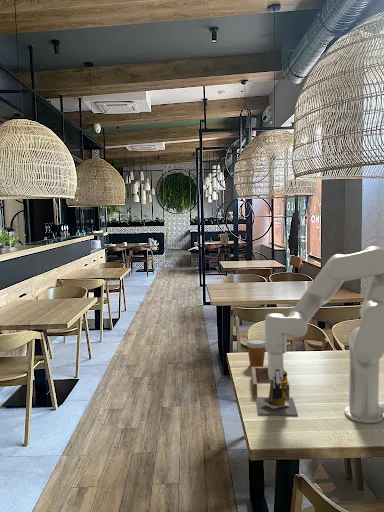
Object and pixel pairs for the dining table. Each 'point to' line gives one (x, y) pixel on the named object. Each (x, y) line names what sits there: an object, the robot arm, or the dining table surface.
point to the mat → (280, 411)
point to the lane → (262, 374)
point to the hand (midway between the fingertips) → (276, 394)
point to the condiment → (270, 401)
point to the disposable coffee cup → (256, 352)
